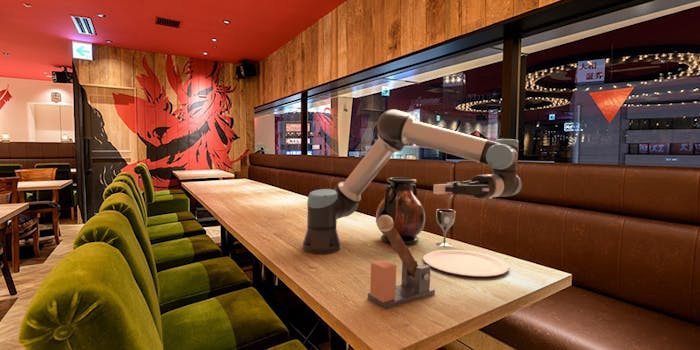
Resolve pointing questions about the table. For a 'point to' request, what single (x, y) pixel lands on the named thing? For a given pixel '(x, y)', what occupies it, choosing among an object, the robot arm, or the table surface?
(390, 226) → the lever
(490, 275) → the plate
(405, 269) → the press base
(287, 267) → the table surface
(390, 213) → the amphora vase
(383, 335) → the table surface
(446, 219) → the wine glass
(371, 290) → the stop block
